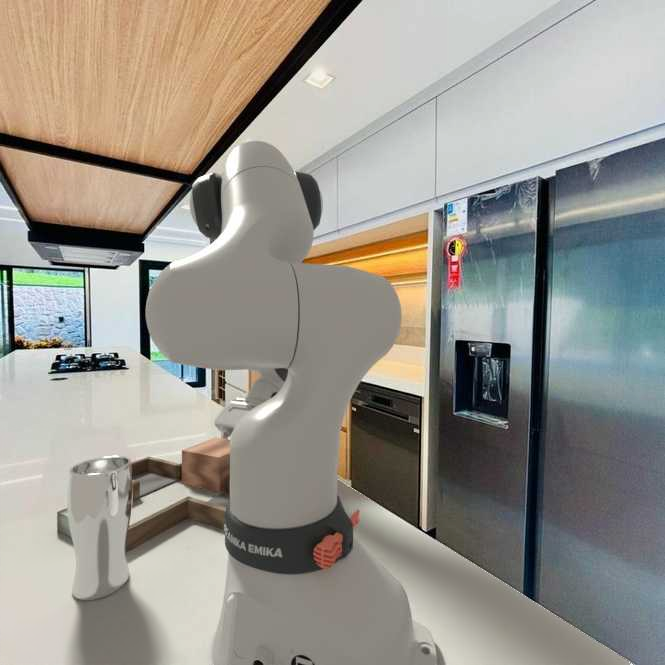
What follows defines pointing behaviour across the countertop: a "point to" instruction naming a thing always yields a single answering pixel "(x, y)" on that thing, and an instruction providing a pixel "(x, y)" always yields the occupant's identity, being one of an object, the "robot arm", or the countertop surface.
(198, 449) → the terracotta block
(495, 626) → the countertop surface
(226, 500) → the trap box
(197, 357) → the robot arm
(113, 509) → the beer glass
